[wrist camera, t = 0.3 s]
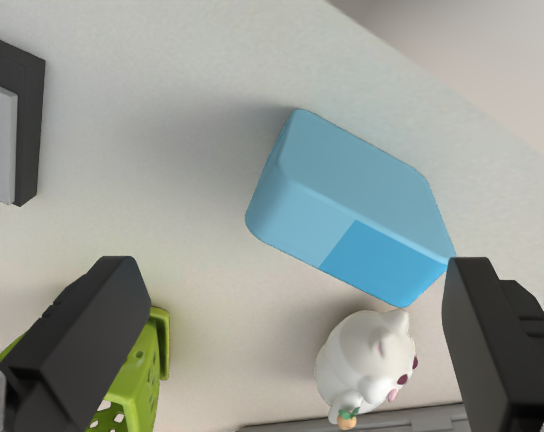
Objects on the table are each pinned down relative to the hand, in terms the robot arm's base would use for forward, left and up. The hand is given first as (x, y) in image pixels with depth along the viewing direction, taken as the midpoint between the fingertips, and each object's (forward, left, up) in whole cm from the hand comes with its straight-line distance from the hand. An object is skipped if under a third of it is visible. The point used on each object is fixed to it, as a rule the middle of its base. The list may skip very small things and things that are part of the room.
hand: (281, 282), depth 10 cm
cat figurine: (+22, +16, -23) cm, 35 cm away
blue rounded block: (+5, +5, -23) cm, 24 cm away
